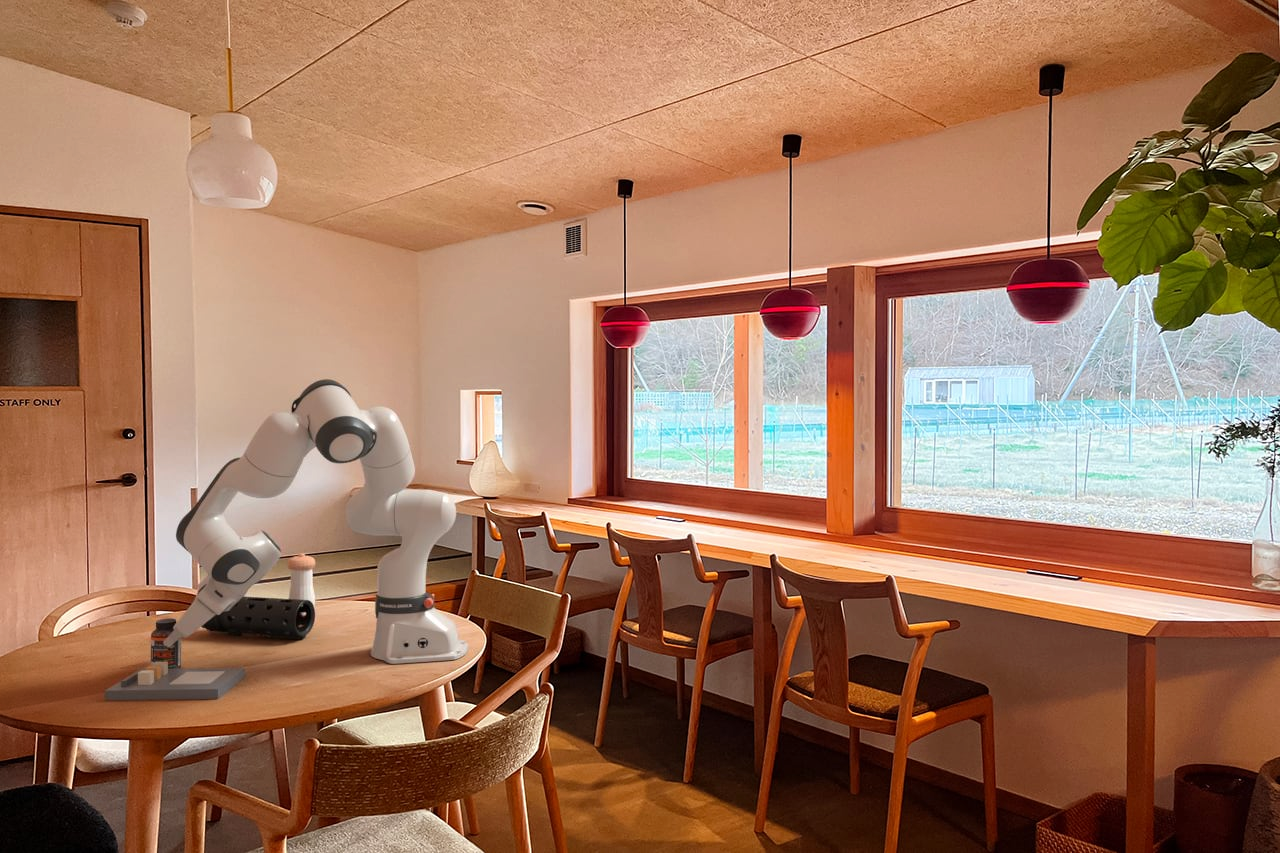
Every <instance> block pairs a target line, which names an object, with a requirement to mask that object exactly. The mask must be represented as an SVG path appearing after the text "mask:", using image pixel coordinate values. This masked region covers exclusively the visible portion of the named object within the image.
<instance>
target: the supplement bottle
mask: <svg viewBox="0 0 1280 853" xmlns="http://www.w3.org/2000/svg"><path fill="white" fill-rule="evenodd" d="M176 623H177V619H176V618H172V617H171V618H161V619H158V620H156V621H155V630H152V631H151V633H150V634H151V635H150V666H152V664H153V663H155V662H168V669H181V668H182V637H181V638H180V639H178V640H177V641H176V642H175V643H173V644H172V645H171V646H170V647H167V646H166V645H164V644H163V641H164V640H165V639H166V638H167V637H168V636H169V635H170V634H171V633H172V632H173V631H174V629H173V627H174V625H175V624H176Z"/></svg>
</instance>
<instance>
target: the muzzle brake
mask: <svg viewBox="0 0 1280 853" xmlns="http://www.w3.org/2000/svg"><path fill="white" fill-rule="evenodd" d="M315 610H316V608H315V609H314V605H313V604H312V602H311V601H309V600H299V599H289V598H277V597H259V596H246V595H244V596H243V597H242V598H241V599H240V600H239V601H238V602H237V603H236V604H235V605H234V606H233V607H232V608H231V609H230V610H229V611H225V612H222V613H221V614H220V615H217V614H216V615H215V616H214V617H212V618H211V619H210V620H209V621H208V622H206V623H205V624H204V625H203V626H201V627H200V628H202V629H205V630H206V631H208V632H210V633H211V632H215V633H226V635H227V636H232V637H240V636H242V635H246V634H248V635H258V636H259V638H260V637H261V638H262V637H269V638H271V639H272V638H273V639H274V638H275V639H285V640H286V639H289V640H304V639H305V638H306V637H307V635H308V634H309V633H310V632H311V630H312V629H313V627H314V626H313V624H314V620H315ZM302 612H306V615H305V616H303V615H302ZM299 625H302V626H301V627H299Z"/></svg>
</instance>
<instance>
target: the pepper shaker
mask: <svg viewBox="0 0 1280 853" xmlns="http://www.w3.org/2000/svg"><path fill="white" fill-rule="evenodd" d="M315 566H316V559H315V558H314V557H312V556H309V555H306V554H305V553H298V555H297V556H292V557H290V558H289V560H288V562H287V568H288V569H289V570H290V588H289V593H288V599H299V600H309V601H311V602H312V604H313V605H314V609H315V620H314V624H313V627H314V626H316V625H317V610H316V596H315V590H314V583H313V582H314V581H313V580H314V578H313V569H314V568H315ZM302 615H303V616H305V615H306V612H302ZM301 626H302V625H299V627H301Z"/></svg>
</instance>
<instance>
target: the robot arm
mask: <svg viewBox="0 0 1280 853" xmlns="http://www.w3.org/2000/svg"><path fill="white" fill-rule="evenodd" d="M290 411H291V412H288V411H277V412H274V413H271V414H270V415H269V416H268V417H267V418H266V419H265V420H264V421H263V422H262V424H261V425H260V426H259V428H258V429H257V431H256V432H255V433H254V435H253V437H252V438H251V440H250V442H249V443H248V445H247V447H246V449H245V451H244V452H243V454H242V456H241V457H235V458H233V459H231V460H229V461H228V462H226V464H224V466H222V468H220V470H219V471H218V473H217V474H216V475H215V477H214V478H213V480H211V482H210V484H209V485H208V486H207V488H206V489H205V491H204V492H203V494H202V495H201V497H200V498H199V499H198V501H197V502H196V503H195V505H194V506H193V507H192V508H191V509H190V510H189V512H188V513H186V514H185V515H184V516H183V517H182V518H181V520H180V521H179V523H178V525H177V527H176V532H175V537H176V541H177V542H178V544H179V545H180V546H181V547H182V548H183V549H184V550H186V552H188V553H189V554H190V555H191V556H192V557H193V559H194V560H195V561H196V563H197V564H198V565H199V566H200V567H201V568H202V569H203V571H205V573H206V574H207V575H206V577H204V578H203V579H202V580H201V581H200V582H199V583H198V585H197V593H196V595H195V598H194V600H193V601H192V603H191V605H189V607H188V608H187V609H186V610H185V612H184V613H183V614H182V615H181V617H180V618H179V619H178V620H176V624H175V625H174V627H173V629H174V631H173V632H172V633H171V634H170V635H169V636H168V637H167V638H166V639H165V640H164V641H163V644H164V645H166V646H167V647H170V646H171V645H172V644H173V643H175V642H176V641H177V640H178V639H180V638H181V639H182V638H184V639H185V638H188V637H190V636H191V635H192V634H194V633H195V632H196V631H198V630H199V629H200V628H202V627H201V626H203V625H204V624H205V623H206V622H208V621H209V620H210V619H211V618H212V617H214V616H215V615H216V614H217V615H220V614H221V613H222V612H225V611H229V610H230V609H231V608H232V607H233V606H234V605H235V604H236V603H237V602H238V601H239V600H240V599H241V598H242V597H243V596H246V594H247V593H248V591H249V589H250V588H251V587H252V586H254V585H255V584H257V583H258V582H259V583H260V581H261V580H262V579H263V578H264V577H265V576H266V575H267V574H268V573H269V571H270V570H272V569H273V567H274V566H275V565H276V564H277V562H278V561H279V559H280V558H281V556H282V549H281V548H280V546H279V545H278V544H277V543H276V542H275V540H273V538H272V537H271V536H270V535H269V534H268V533H267V532H266V531H265V530H262V529H261V530H260V529H259V530H258V531H255V533H253V534H252V535H250V536H242V535H241V536H239V535H238V534H237V533H236V532H235V529H233V528H232V527H231V526H230V525H229V523H228V521H227V520H226V515H225V511H226V509H227V508H228V507H229V505H230V504H231V503H232V501H233V499H234V498H236V495H237V494H238V493H241V494H243V495H244V496H248V497H251V498H256V499H272V498H276V497H278V496H280V495H282V494H283V493H285V492H286V491H287V490H288V488H290V486H291V485H292V483H293V482H294V480H295V478H296V476H297V474H298V472H299V469H300V468H301V466H302V464H303V460H304V459H305V457H307V455H308V454H309V453H310V452H311V451H312V450H313V449H315V448H316V449H317V451H318V452H319V454H320V455H321V456H322V457H323V458H324V459H326V460H327V461H328V462H330V463H333V464H340V465H341V464H348V463H352V462H355V461H358V460H359V461H360V463H361V467H362V472H363V475H364V476H363V477H364V484H363V486H362V487H361V488H360V489H359V490H357V491H356V492H355V493H354V494H353V495H352V496H351V497H350V498H349V499H348V501H347V503H346V507H345V518H346V521H347V524H348V526H349V527H350V529H351V530H352V531H354V532H356V533H360V534H364V535H369V536H370V535H371V536H388V537H389V536H390V537H391V536H397V537H399V536H400V537H401V538H402V539H401V544H400V546H399V547H398V548H395V549H393V550H391V551H389V552H387V553H386V554H385V555H383V556H382V557H381V558H380V559H379V561H378V563H377V568H376V569H377V572H376V573H377V594H375V600H374V612H375V618H376V625H375V633H374V640H373V644H372V648H371V651H370V656H371V657H372V658H374V659H378V660H381V661H385V662H386V663H388V664H391V665H395V664H396V665H397V664H411V663H412V664H413V663H425V662H426V663H427V662H440V661H451V660H452V661H453V660H458V659H460V658H462V657H463V656H465V655H466V654H467V652H468V649H469V646H468V642H467V641H466V640H463V639H460V638H459V632H458V628H457V624H456V623H455V621H453V620H452V619H451V618H450V617H448V616H446V615H445V614H444V613H442V612H441V611H439V610H438V609H437V608H435V594H434V593H432V594H431V593H429V592H428V591H426V585H427V584H426V582H427V581H426V579H427V567H428V566H427V565H428V559H429V556H430V553H431V551H432V549H433V547H434V546H435V544H436V543H437V541H438V540H439V539H440V538H441V537H443V536H444V535H445V534H446V533H448V532H449V531H450V530H451V529H452V527H453V526H454V524H455V521H456V518H457V507H456V503H455V501H454V499H453V498H452V496H451V495H450V494H449V493H447V492H443V491H439V490H433V489H426V488H425V489H423V488H422V489H415V488H414V489H411V488H410V489H406V488H407V487H408V486H409V485H410V484H411V483H412V481H413V480H414V477H415V473H416V466H415V462H414V459H413V456H412V455H413V454H412V451H411V447H410V442H409V439H408V436H407V434H406V430H405V428H404V426H403V423H402V422H401V419H400V418H399V416H398V414H397V413H396V412H395V411H394V410H392V409H391V408H389V407H387V406H380V405H379V406H373V407H369V408H366V409H361V408H359V407H358V405H357V404H356V402H355V400H354V399H353V397H352V395H351V392H349V390H348V389H347V388H346V387H345V386H343V384H341V383H340V382H338V381H337V380H333V379H327V378H326V379H325V378H324V379H320V380H316V381H314V382H313V383H311V384H310V385H308V386H307V387H306V388H305V389H304V390H303V391H302V392H301V394H300V395H299V396H298V397H297V398H296V399H294V400H293V402H292V403H291V410H290Z"/></svg>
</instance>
